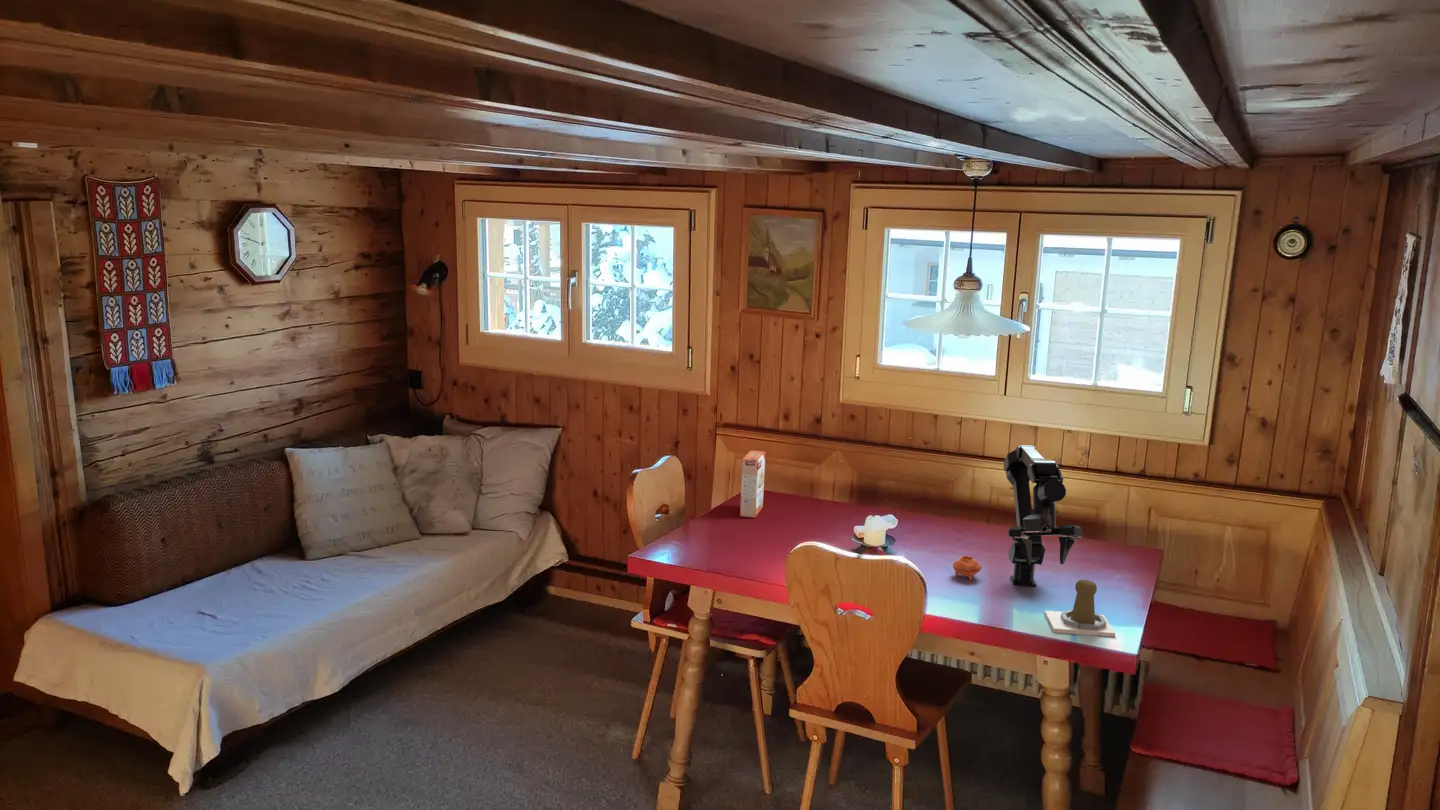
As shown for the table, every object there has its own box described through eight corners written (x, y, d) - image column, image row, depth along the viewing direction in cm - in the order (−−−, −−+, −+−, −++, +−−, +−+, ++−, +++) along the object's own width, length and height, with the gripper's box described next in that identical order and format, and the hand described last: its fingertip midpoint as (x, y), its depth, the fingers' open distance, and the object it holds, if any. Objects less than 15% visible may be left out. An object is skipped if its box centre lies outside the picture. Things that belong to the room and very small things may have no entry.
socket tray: (1044, 614, 263) (1045, 606, 262) (1103, 618, 261) (1103, 610, 261) (1053, 632, 251) (1054, 624, 251) (1114, 636, 249) (1115, 628, 249)
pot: (987, 580, 286) (984, 559, 285) (962, 587, 285) (959, 566, 283) (974, 569, 294) (971, 549, 292) (950, 576, 293) (947, 556, 291)
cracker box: (756, 518, 341) (758, 459, 337) (739, 517, 342) (741, 458, 338) (764, 507, 354) (766, 450, 351) (747, 506, 356) (749, 449, 352)
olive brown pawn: (1100, 623, 255) (1104, 582, 253) (1084, 628, 252) (1088, 587, 250) (1080, 615, 260) (1084, 575, 258) (1065, 619, 257) (1069, 579, 255)
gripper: (998, 504, 269) (998, 562, 265) (1064, 501, 256) (1065, 561, 253) (1017, 509, 276) (1018, 565, 273) (1082, 506, 264) (1084, 565, 260)
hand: (1045, 564), depth 265 cm, fingers open, 9 cm apart
